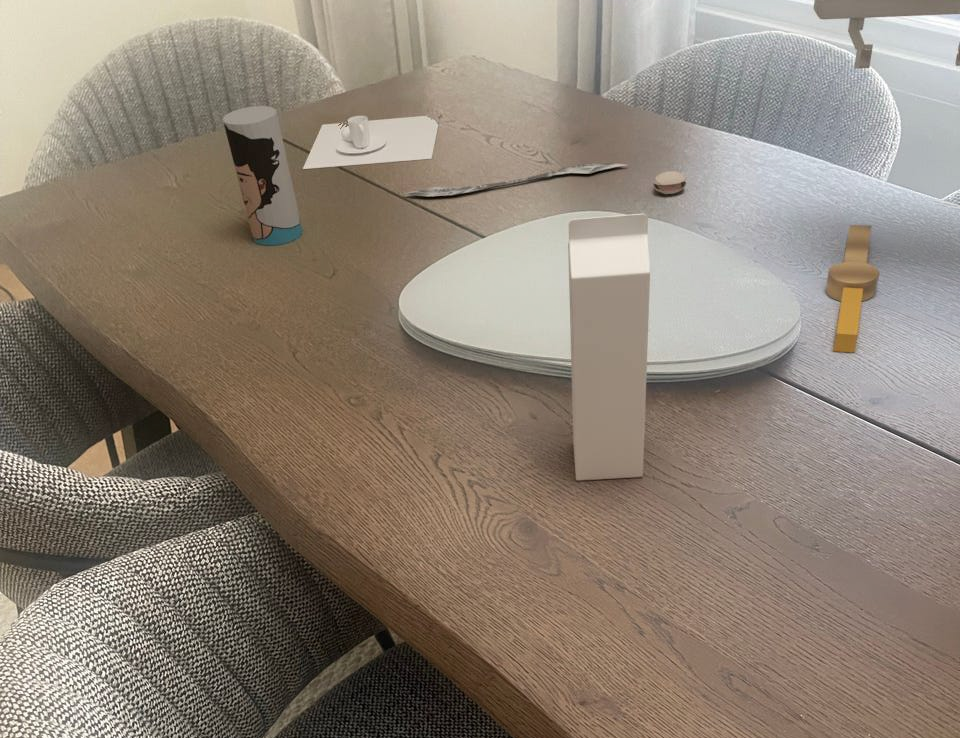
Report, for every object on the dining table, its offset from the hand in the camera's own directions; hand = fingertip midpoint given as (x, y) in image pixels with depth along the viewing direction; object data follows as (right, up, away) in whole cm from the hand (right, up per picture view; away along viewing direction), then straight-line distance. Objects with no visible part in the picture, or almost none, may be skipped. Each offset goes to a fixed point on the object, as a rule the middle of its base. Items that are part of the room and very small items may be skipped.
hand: (911, 65), depth 97 cm
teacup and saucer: (-60, +22, +58) cm, 86 cm away
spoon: (-1, -15, +13) cm, 20 cm away
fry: (-5, -25, +4) cm, 26 cm away
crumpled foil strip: (-38, +7, +40) cm, 56 cm away
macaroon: (-18, +3, +34) cm, 38 cm away
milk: (-32, -41, -8) cm, 52 cm away
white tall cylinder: (-71, -2, +35) cm, 79 cm away
